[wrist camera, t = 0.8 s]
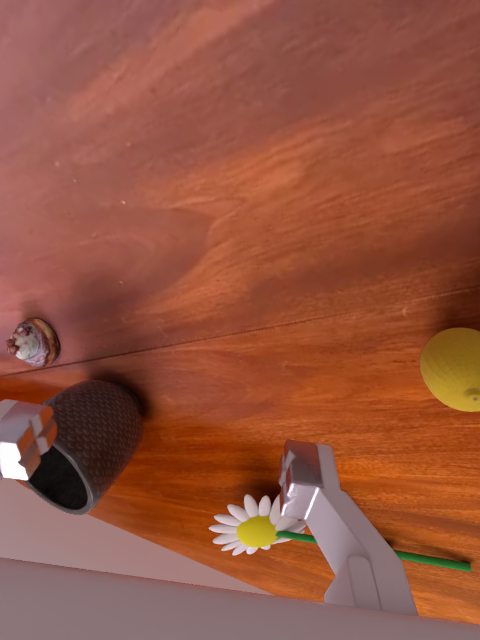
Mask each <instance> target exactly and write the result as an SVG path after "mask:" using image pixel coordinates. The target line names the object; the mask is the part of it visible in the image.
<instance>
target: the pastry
mask: <svg viewBox="0 0 480 640" xmlns="http://www.w3.org/2000/svg"><path fill="white" fill-rule="evenodd" d="M5 343H6V344H7V345H8V348H7V350H8V352H9V353H10V354H11V355H16V356H17V357H18V358H20V359H23V360H24V361H25V362H26V363H28V364H30V365H31V366H33V367H36V368H39V367H46V366H48V365H51V364H52V363H53V362H54V361H55V360H56V358H57V357H58V353H59V349H60V347H59V344H58V341H57V338H56V335H55V333H54V331H53V330H52V329H51V328H50V327H49V325H48V324H47V323H45V322H44V321H42V320H40V319H27V320H26V321H24V322H22V323H21V324H19V325H18V327H17V328H16V329H15V332H14V333H13V334H12V335H11V337H10V339H9V340H7V341H6V342H5Z"/></svg>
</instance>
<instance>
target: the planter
mask: <svg viewBox="0 0 480 640" xmlns="http://www.w3.org/2000/svg"><path fill="white" fill-rule="evenodd" d="M39 405H45V406H50V407H52V409H53V412H54V414H53V416H52V417H51V418H52V419H53V420H54V421H55V422H56V424H57V435H56V438H55V441H54V443H53V445H52V446H51V448H50V449H49V451H47V452H45V453H44V454H42V455H40V457H41V463H40V464H39V466H38V467H37V469H36V470H35V472H34V473H33V475H32V476H31V477H30V479H29V480H23V481H24V482H25V483H26V484H27V485H28V486H29V487H30V488H31V489H32V490H33V491H34V492H35V493H36V494H37V495H38V496H39V497H41V498H42V499H43V500H45V501H47V503H49V504H50V505H52V506H54V507H56V508H58V509H59V510H62V511H64V512H66V513H69V514H74V515H83V514H86V513H88V512H90V511H91V510H92V509H93V508H94V507H95V506H96V505H97V504H98V502H99V501H100V500H101V499H102V497H103V496H104V495H105V494H106V492H107V491H108V490H109V489H110V487H111V486H112V485H113V483H114V482H115V481H116V479H117V478H118V477H119V476H120V474H121V473H122V472H123V470H124V469H125V468H126V466H127V465H128V464H129V462H130V461H131V459H132V458H133V456H134V455H135V453H136V451H137V450H138V447H139V445H140V443H141V440H142V437H143V430H144V427H143V419H142V417H143V413H142V408H141V405H140V403H139V401H138V399H137V398H136V397H135V395H134V394H133V393H132V392H131V391H130V390H129V389H127V388H126V387H124V386H123V385H121V384H118V383H115V382H106V381H102V380H88V381H83V382H80V383H77V384H74V385H72V386H70V387H68V388H66V389H64V390H62V391H60V392H59V393H57V394H55V395H54V396H52V397H50V398H49V399H47V400H45V401H44V402H42V403H41V404H39Z"/></svg>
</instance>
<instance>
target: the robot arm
mask: <svg viewBox="0 0 480 640" xmlns="http://www.w3.org/2000/svg"><path fill="white" fill-rule="evenodd" d="M53 414H54V412H53V409H52V407H50V406H45V405H39V404H33V403H27V402H21V401H14V400H8V399H5V400H3V401H1V402H0V480H1V479H2V477H4V478H13V479H22V480H29V479H30V477H31V476H32V475H33V473H34V472H35V470H36V469H37V467H38V466H39V464H40V463H41V457H40V455H42V454H44V453H45V452H47V451H49V449H50V448H51V446H52V445H53V443H54V441H55V438H56V435H57V424H56V422H55V421H54V420H53V419H52V418H51V417H52V416H53ZM279 484H280V485H281V487H282V488H281V492H280V495H279V502H280V516H285V517H291V518H297V519H303V520H306V521H305V522H306V524H307V525H308V527H309V529H310V531H311V533H312V534H313V536H314V538H315V540H316V541H317V543H318V545H319V547H320V549H321V550H322V552H323V554H324V556H325V558H326V559H327V561H328V563H329V565H330V566H331V568H332V570H333V572H334V574H335V575H336V577H335V578H334V580H333V581H332V583H331V585H330V586H329V588H328V589H327V591H326V592H325V594H324V600H325V603H322V602H315V601H308V600H300V599H293V598H286V597H279V596H272V595H264V594H257V593H250V592H243V591H236V590H229V589H221V588H214V587H207V586H200V585H193V584H186V583H179V582H171V581H165V580H157V579H150V578H143V577H136V576H129V575H122V574H114V573H107V572H100V571H93V570H86V569H79V568H71V567H64V566H57V565H50V564H43V563H35V562H29V561H22V560H14V559H7V558H0V640H480V625H479V624H472V623H465V622H458V621H451V620H444V619H437V618H429V617H422V616H419V615H418V612H417V609H416V606H415V602H414V599H413V596H412V593H411V590H410V586H409V583H408V580H407V577H406V574H405V570H404V567H403V564H402V561H401V559H400V558H399V557H398V556H397V554H396V553H395V552H394V551H393V550H392V548H391V547H390V546H389V545H388V543H387V542H386V541H385V540H384V538H383V537H382V536H381V535H380V534H379V532H378V531H377V530H376V529H375V527H374V526H373V525H372V524H371V522H370V521H369V520H368V519H367V517H366V516H365V515H364V514H363V513H362V511H361V510H360V509H359V508H358V506H357V505H356V504H355V503H354V501H353V500H352V499H351V498H350V496H349V495H348V494H347V493H346V492H345V491H341V488H340V483H339V479H338V474H337V469H336V465H335V460H334V455H333V451H332V448H331V446H330V445H323V444H315V443H311V442H303V441H295V440H286V442H285V445H284V453H283V454H282V455H281V459H280V464H279Z"/></svg>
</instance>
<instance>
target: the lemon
mask: <svg viewBox="0 0 480 640" xmlns="http://www.w3.org/2000/svg"><path fill="white" fill-rule="evenodd" d="M420 371H421V374H422V377H423V379H424V382H425V384H426V385H427V387H428V388H429V390H430V391H431V392H432V394H433V395H434V396H435V397H436V398H437V399H439V400H440V401H441V402H442V403H444V404H446V405H448V406H450V407H452V408H454V409H458V410H461V411H469V412H473V411H480V331H477V330H474V329H470V328H462V327H460V328H450V329H447V330H443V331H441V332H439V333H437V334H435V335H434V336H433V337H432V338H430V339H429V340H428V342H427V343H426V344H425V346H424V348H423V350H422V353H421V356H420Z"/></svg>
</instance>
